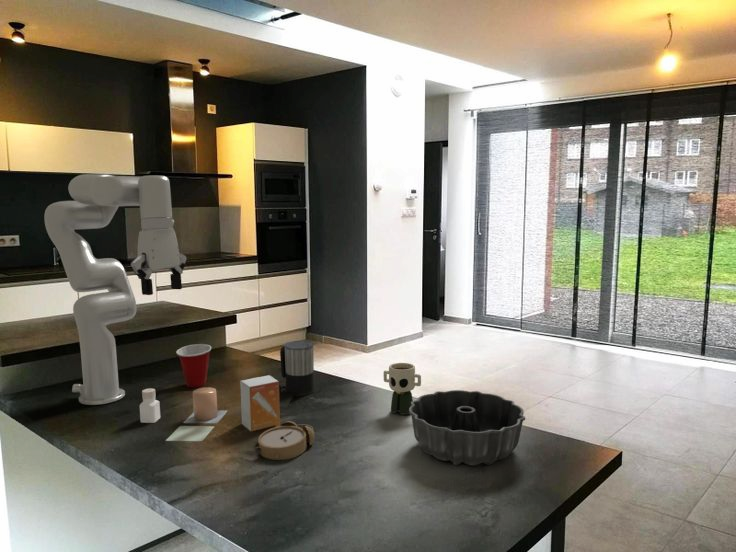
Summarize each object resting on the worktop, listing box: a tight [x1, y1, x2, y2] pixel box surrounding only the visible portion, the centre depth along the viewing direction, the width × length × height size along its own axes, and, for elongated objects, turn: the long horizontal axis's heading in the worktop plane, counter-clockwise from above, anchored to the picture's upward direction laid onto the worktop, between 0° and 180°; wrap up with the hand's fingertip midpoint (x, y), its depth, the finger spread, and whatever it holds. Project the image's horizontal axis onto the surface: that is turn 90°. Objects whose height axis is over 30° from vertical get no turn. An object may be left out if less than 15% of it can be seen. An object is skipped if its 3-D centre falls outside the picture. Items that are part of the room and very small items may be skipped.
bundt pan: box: [409, 389, 526, 466], centre depth 135 cm, size 26×26×10 cm
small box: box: [239, 375, 281, 432], centre depth 148 cm, size 8×6×13 cm
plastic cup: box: [175, 343, 212, 388], centre depth 185 cm, size 11×11×12 cm
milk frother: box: [279, 340, 316, 397], centre depth 175 cm, size 14×16×15 cm
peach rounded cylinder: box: [192, 386, 218, 421], centre depth 154 cm, size 6×6×7 cm
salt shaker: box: [139, 387, 161, 424], centre depth 152 cm, size 4×4×10 cm
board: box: [165, 409, 228, 442], centre depth 149 cm, size 14×22×2 cm, turn 176°
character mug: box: [383, 362, 422, 415], centre depth 158 cm, size 11×7×13 cm, turn 66°
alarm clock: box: [255, 420, 317, 461], centre depth 138 cm, size 11×5×15 cm
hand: (162, 291), depth 149 cm, fingers open, 9 cm apart
